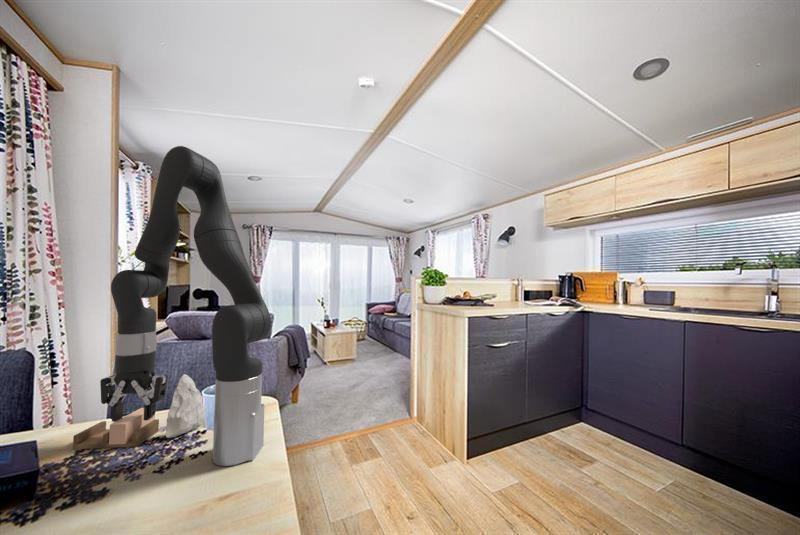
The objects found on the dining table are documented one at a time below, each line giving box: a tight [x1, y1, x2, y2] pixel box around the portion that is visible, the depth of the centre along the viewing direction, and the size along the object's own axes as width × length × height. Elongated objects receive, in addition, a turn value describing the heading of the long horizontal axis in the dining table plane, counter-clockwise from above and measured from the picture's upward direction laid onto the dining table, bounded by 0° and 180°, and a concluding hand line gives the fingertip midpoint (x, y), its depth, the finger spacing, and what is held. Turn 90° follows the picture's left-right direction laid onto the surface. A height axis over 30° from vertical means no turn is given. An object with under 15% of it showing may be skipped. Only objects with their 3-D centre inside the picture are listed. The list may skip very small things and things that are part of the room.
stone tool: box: [165, 373, 205, 439], centre depth 74 cm, size 8×3×15 cm, turn 151°
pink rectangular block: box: [109, 407, 156, 445], centre depth 71 cm, size 3×9×4 cm, turn 5°
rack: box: [72, 418, 160, 450], centre depth 71 cm, size 14×7×3 cm, turn 95°
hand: (132, 419), depth 71 cm, fingers open, 6 cm apart
